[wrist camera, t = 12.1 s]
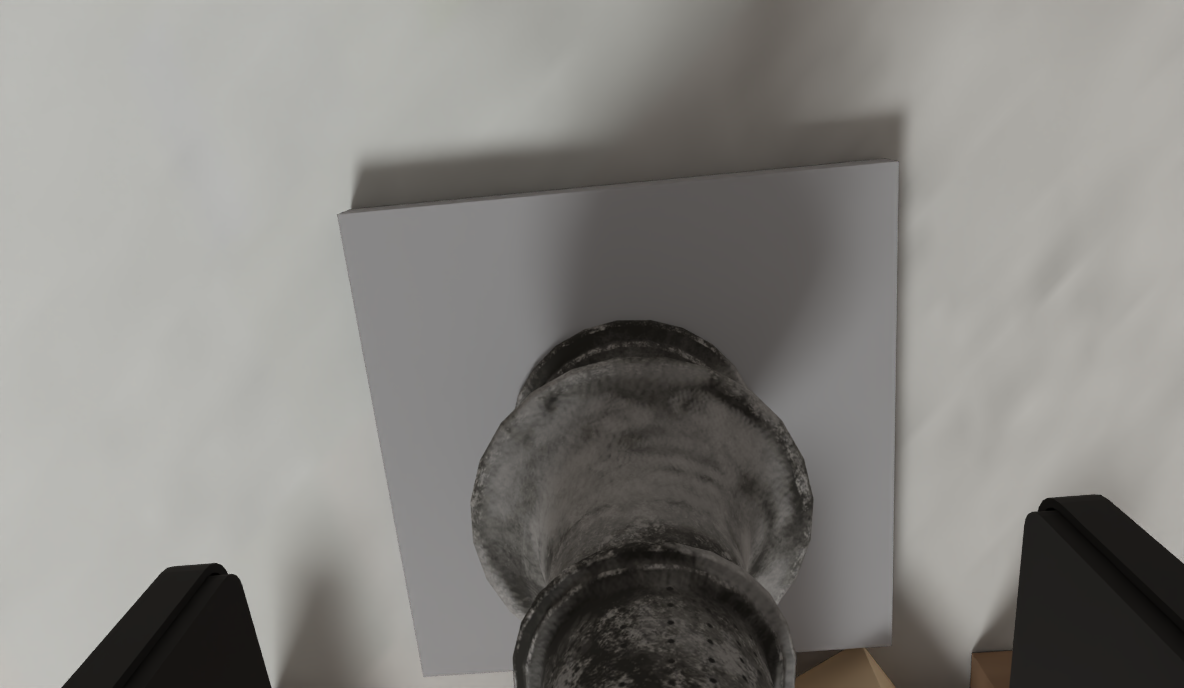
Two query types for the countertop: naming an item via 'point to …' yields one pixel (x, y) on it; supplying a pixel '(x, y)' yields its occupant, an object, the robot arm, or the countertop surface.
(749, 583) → the grey stone finial
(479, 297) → the mat
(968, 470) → the countertop surface
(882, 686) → the lower offcut
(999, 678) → the rack
